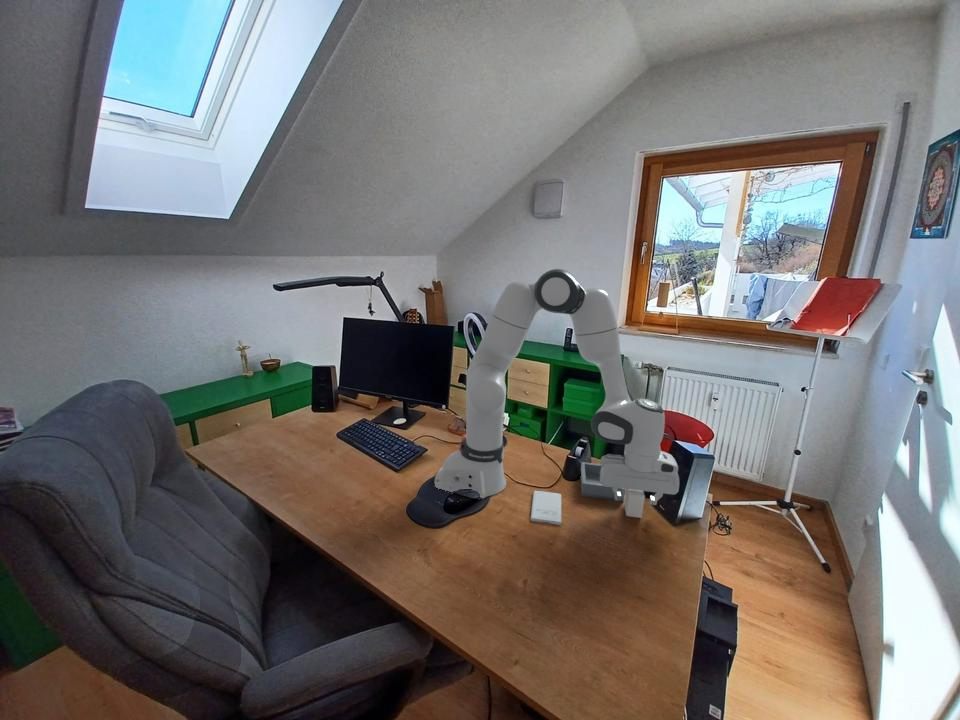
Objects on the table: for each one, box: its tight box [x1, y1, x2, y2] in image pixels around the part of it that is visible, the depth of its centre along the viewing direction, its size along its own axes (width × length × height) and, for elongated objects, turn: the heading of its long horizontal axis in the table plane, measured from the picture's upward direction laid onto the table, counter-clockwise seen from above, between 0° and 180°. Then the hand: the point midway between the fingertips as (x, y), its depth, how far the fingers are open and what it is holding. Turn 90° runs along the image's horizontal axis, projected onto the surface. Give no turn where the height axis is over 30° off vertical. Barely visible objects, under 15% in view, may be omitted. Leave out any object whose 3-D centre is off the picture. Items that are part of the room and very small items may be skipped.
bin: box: [579, 461, 626, 503], centre depth 119 cm, size 12×12×4 cm
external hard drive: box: [530, 490, 562, 526], centre depth 110 cm, size 2×8×12 cm
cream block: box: [623, 489, 646, 519], centre depth 108 cm, size 4×4×7 cm
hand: (635, 501), depth 108 cm, fingers open, 8 cm apart
